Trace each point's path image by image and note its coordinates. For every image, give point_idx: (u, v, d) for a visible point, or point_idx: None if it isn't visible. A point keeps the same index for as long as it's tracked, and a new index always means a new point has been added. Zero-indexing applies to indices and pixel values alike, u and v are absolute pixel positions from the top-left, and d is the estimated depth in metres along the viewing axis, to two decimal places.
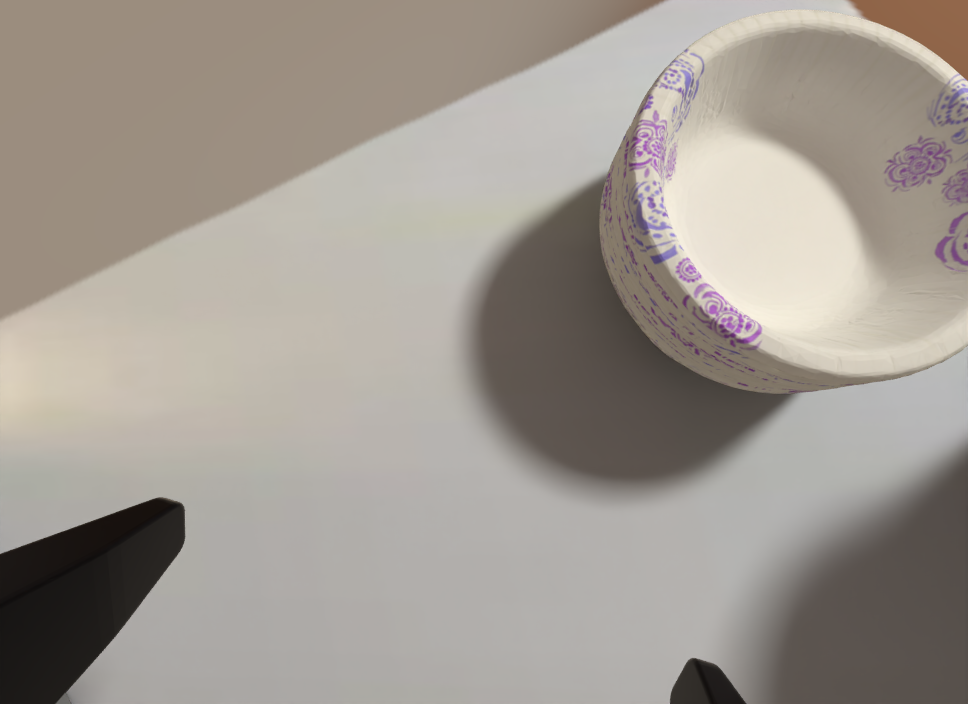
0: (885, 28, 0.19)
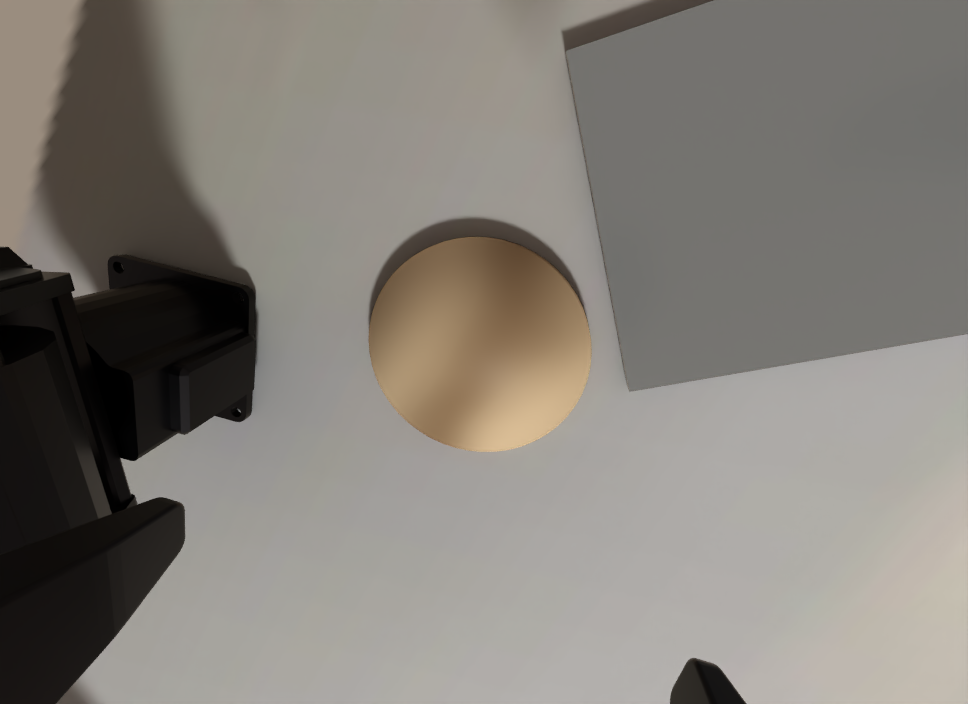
0: None
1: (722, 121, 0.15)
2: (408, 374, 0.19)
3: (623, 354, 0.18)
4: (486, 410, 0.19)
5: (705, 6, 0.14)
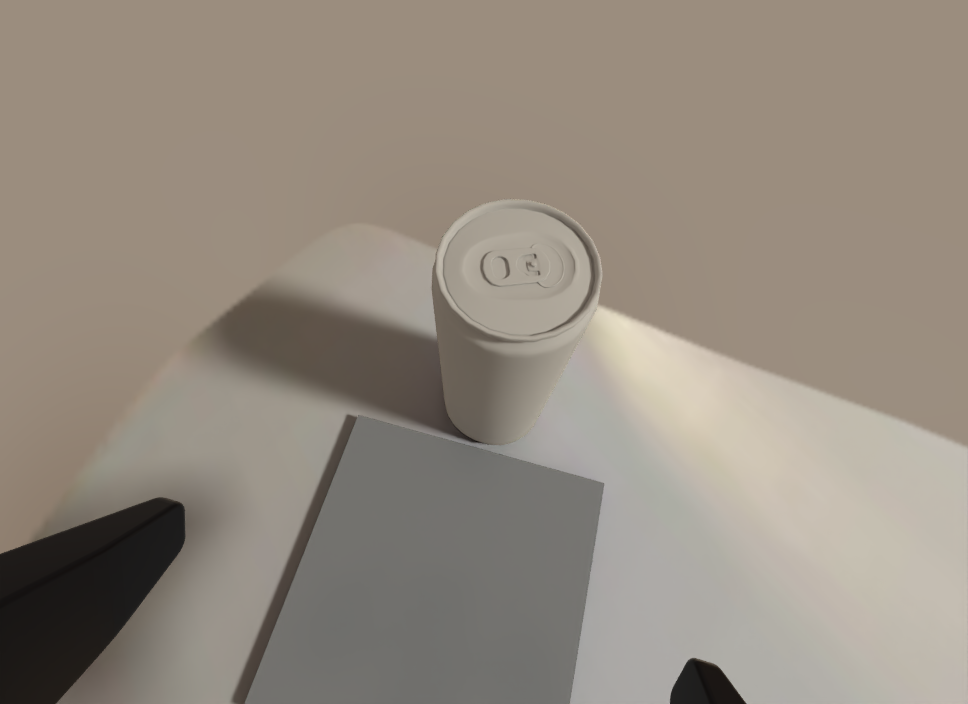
0: None
1: (366, 612, 0.19)
2: None
3: None
4: None
5: (289, 593, 0.19)
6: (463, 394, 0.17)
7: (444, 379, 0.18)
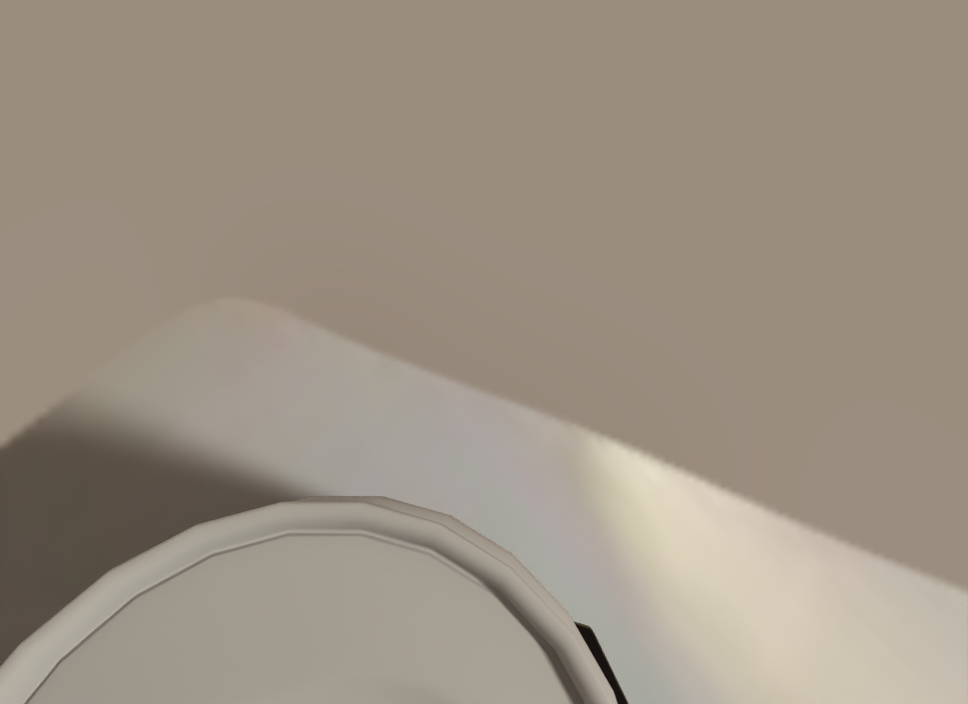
0: None
1: None
2: None
3: None
4: None
5: None
6: None
7: None
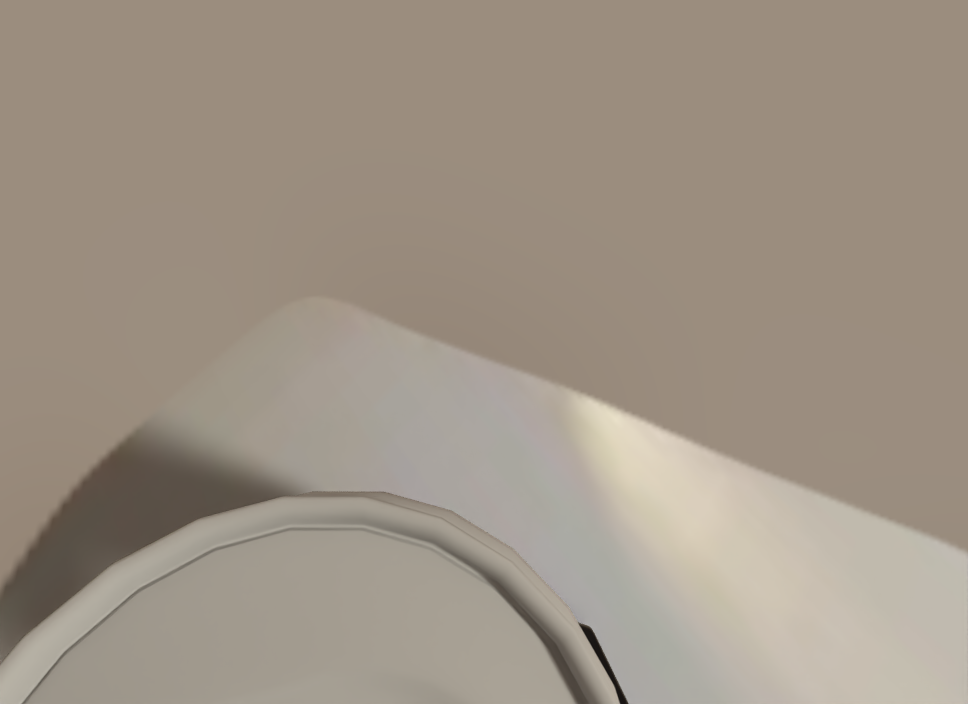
0: None
1: None
2: None
3: None
4: None
5: None
6: None
7: None
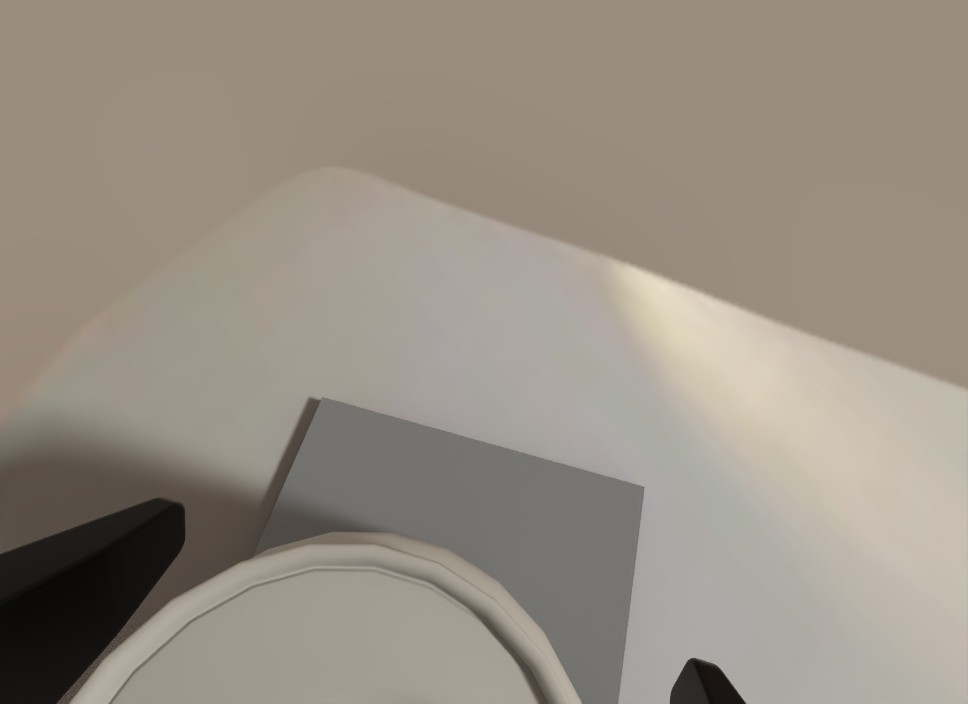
0: None
1: None
2: None
3: None
4: None
5: None
6: None
7: None
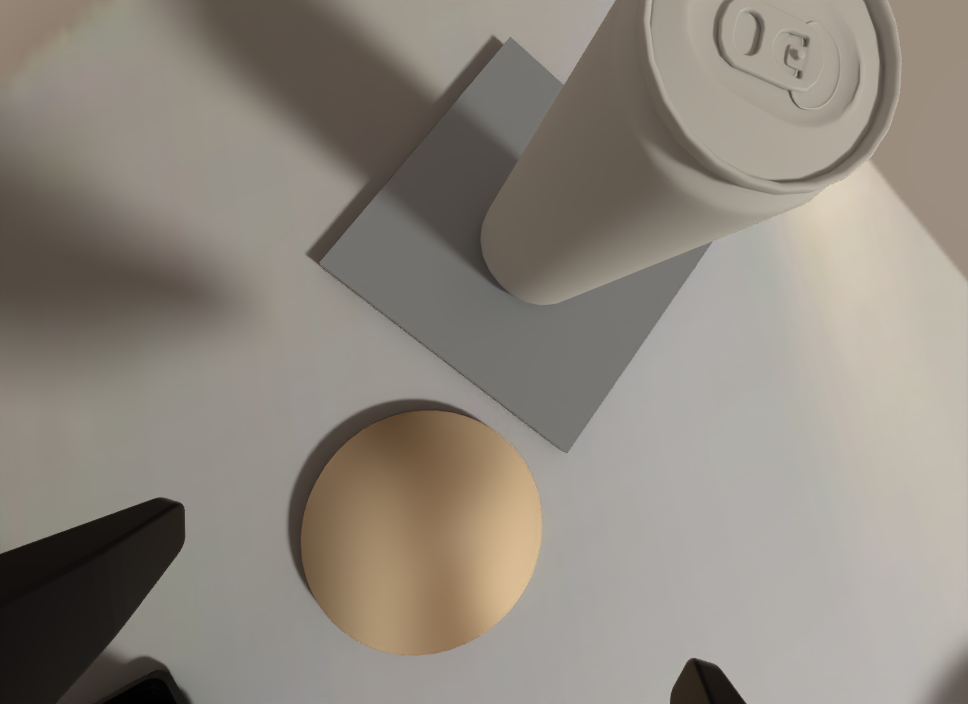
0: None
1: (460, 233, 0.18)
2: (383, 607, 0.17)
3: (537, 429, 0.18)
4: (476, 573, 0.18)
5: (391, 181, 0.18)
6: (537, 223, 0.12)
7: (514, 192, 0.13)
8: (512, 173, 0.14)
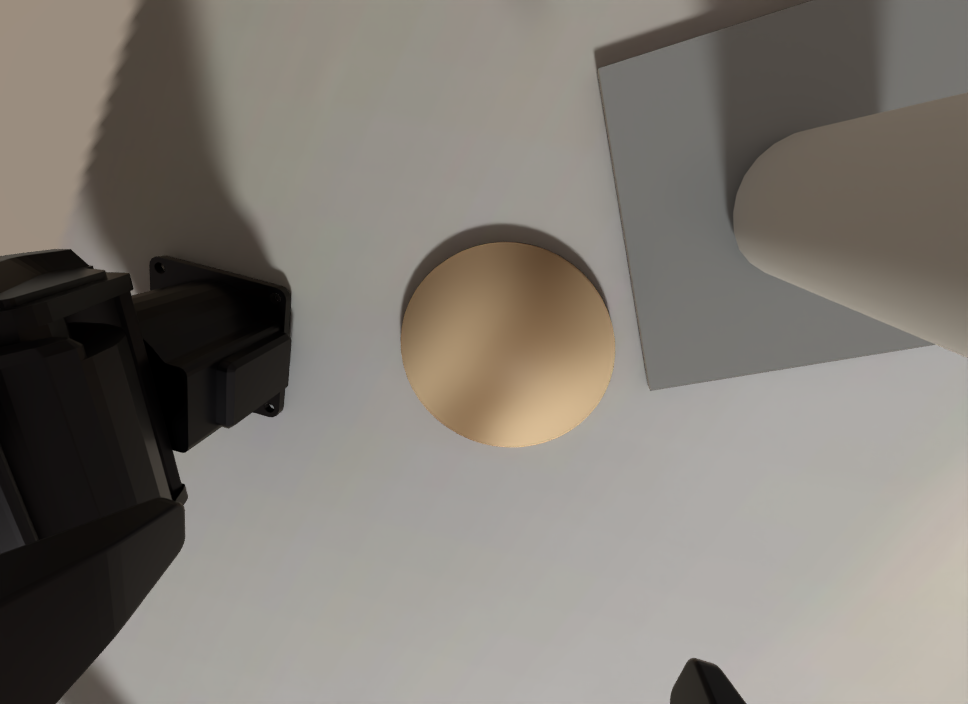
0: None
1: (745, 136, 0.16)
2: (438, 372, 0.20)
3: (645, 355, 0.19)
4: (512, 407, 0.20)
5: (731, 29, 0.15)
6: (830, 200, 0.10)
7: (841, 148, 0.11)
8: (858, 123, 0.11)
